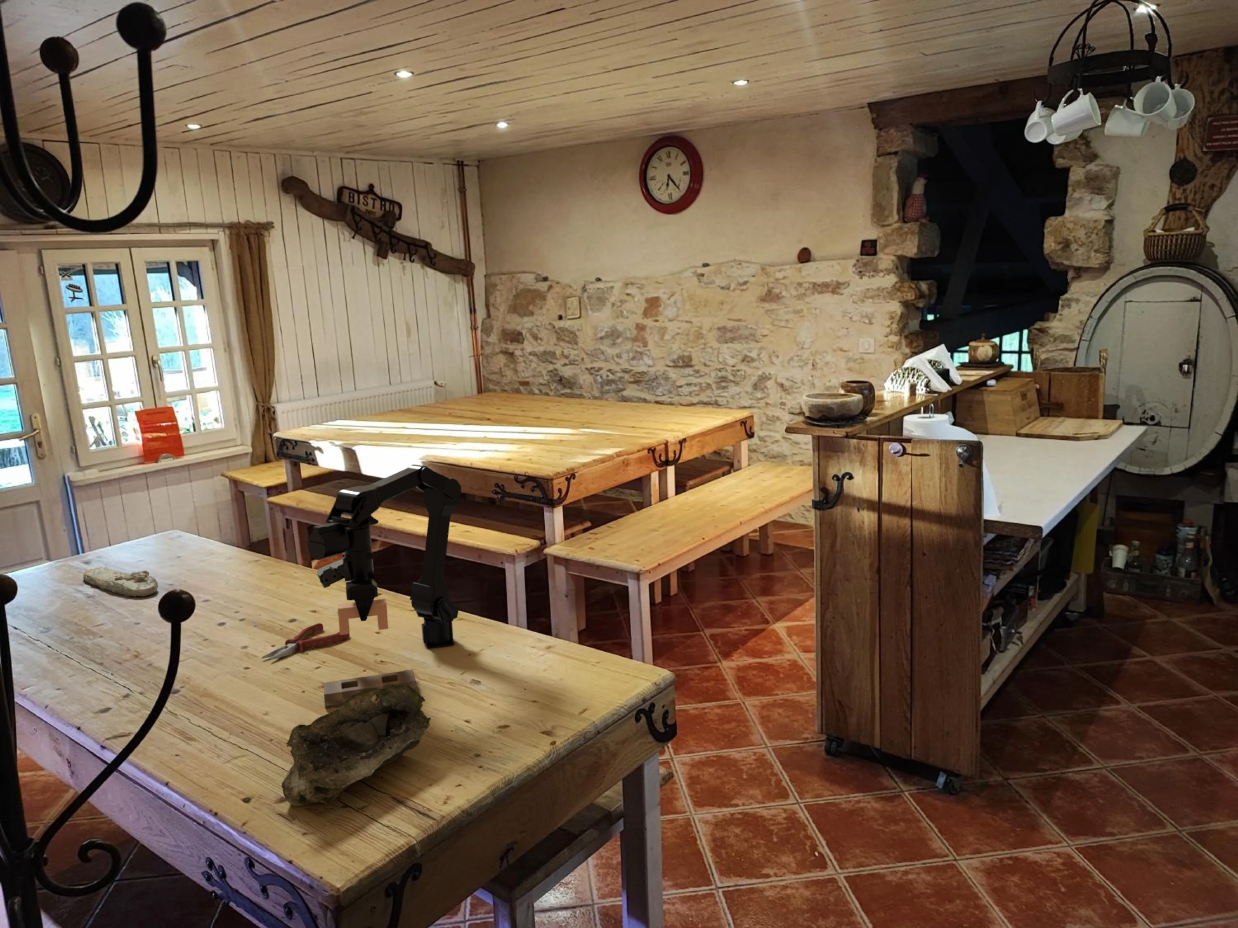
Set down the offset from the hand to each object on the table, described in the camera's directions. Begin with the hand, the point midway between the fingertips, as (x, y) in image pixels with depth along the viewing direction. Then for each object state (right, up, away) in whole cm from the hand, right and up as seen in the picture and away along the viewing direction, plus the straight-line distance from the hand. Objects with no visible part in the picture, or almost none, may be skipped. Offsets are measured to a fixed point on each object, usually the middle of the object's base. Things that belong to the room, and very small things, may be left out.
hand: (363, 618), depth 193 cm
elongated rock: (-90, -3, +68) cm, 113 cm away
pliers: (-20, -10, +21) cm, 31 cm away
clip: (0, -3, +1) cm, 3 cm away
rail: (+4, -14, -8) cm, 17 cm away
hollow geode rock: (+11, -21, -40) cm, 46 cm away
